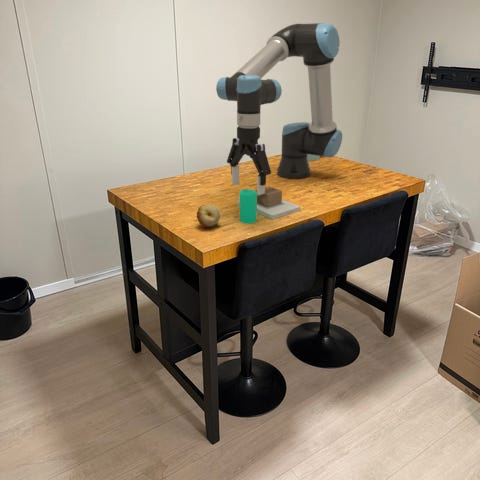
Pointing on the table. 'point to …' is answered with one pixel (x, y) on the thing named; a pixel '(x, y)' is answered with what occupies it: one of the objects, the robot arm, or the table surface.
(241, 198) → the candle
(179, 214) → the table surface
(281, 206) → the slab
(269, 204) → the walnut block
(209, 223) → the fruit
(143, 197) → the table surface
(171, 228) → the table surface
